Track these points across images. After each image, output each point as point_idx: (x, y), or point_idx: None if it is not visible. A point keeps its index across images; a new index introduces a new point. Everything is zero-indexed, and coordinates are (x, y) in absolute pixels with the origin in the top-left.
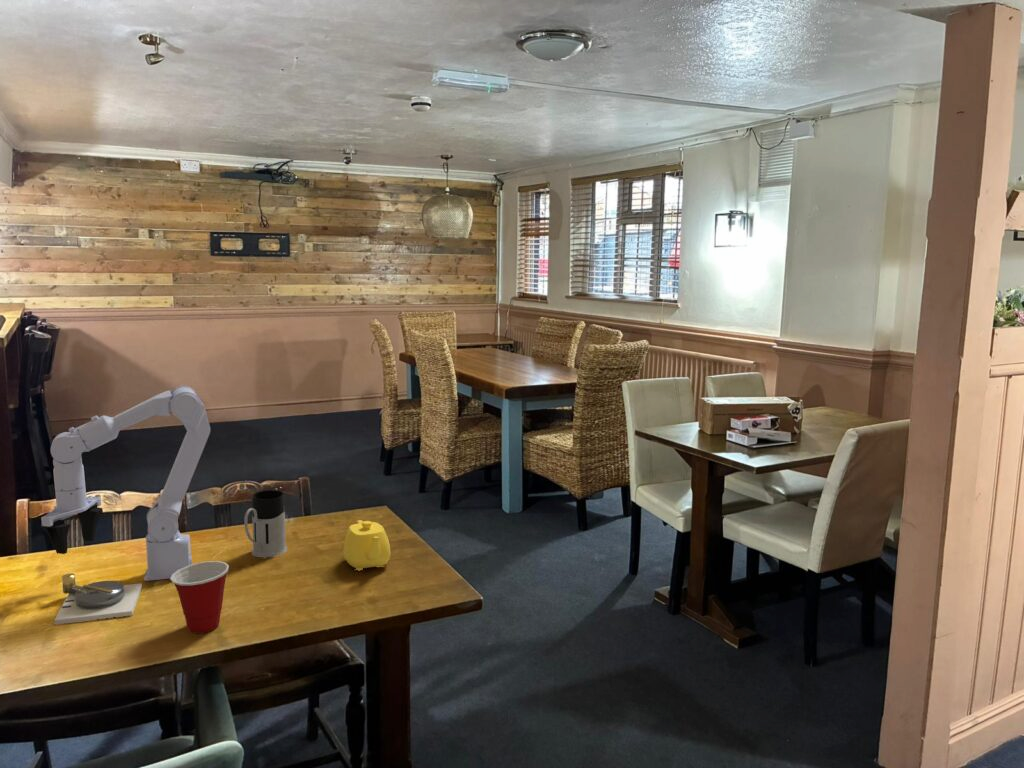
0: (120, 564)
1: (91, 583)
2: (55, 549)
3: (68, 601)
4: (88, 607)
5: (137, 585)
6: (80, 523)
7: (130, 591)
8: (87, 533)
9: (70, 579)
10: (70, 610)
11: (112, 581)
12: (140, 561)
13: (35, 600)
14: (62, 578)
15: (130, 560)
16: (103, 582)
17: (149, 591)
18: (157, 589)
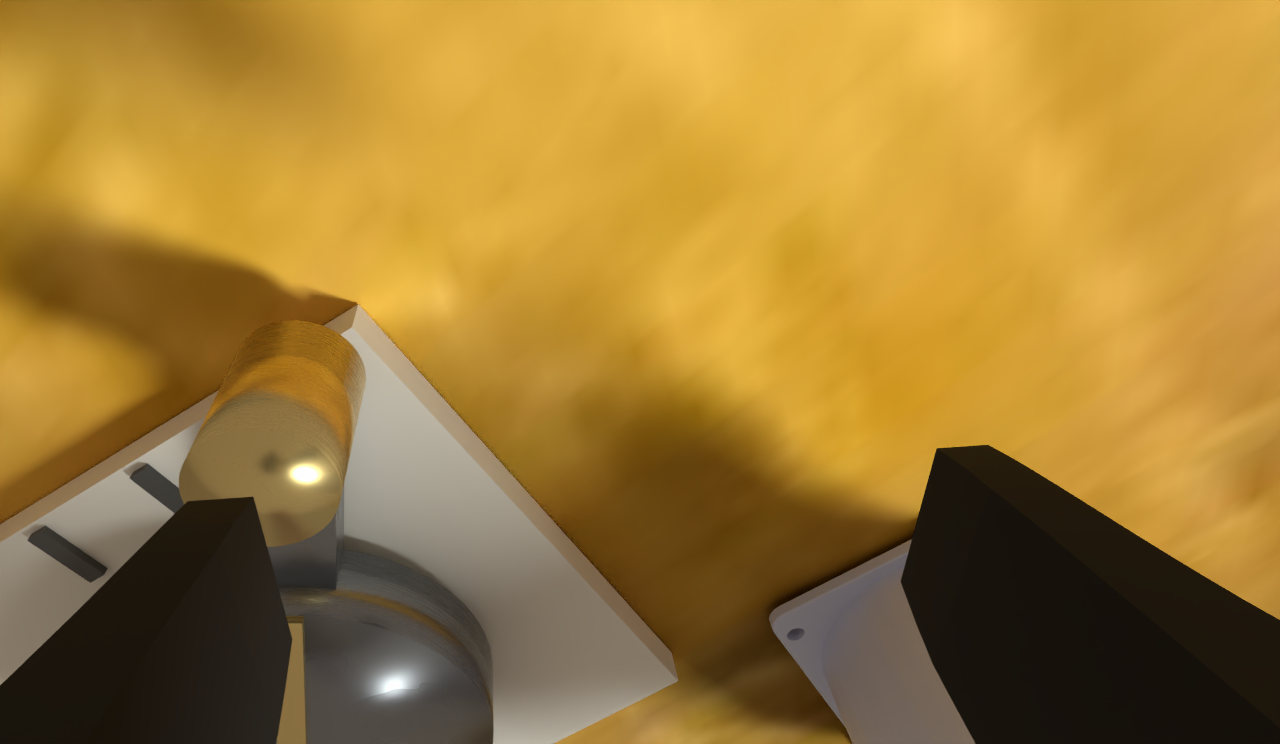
0: (1127, 199)
1: (366, 626)
2: (137, 555)
3: (152, 495)
4: None
5: (637, 682)
6: (1265, 713)
7: (532, 709)
8: (998, 643)
9: None
10: (48, 616)
11: (476, 721)
12: (1182, 320)
13: (67, 31)
14: (185, 460)
15: (1221, 219)
16: (429, 685)
17: (629, 716)
18: (669, 731)
